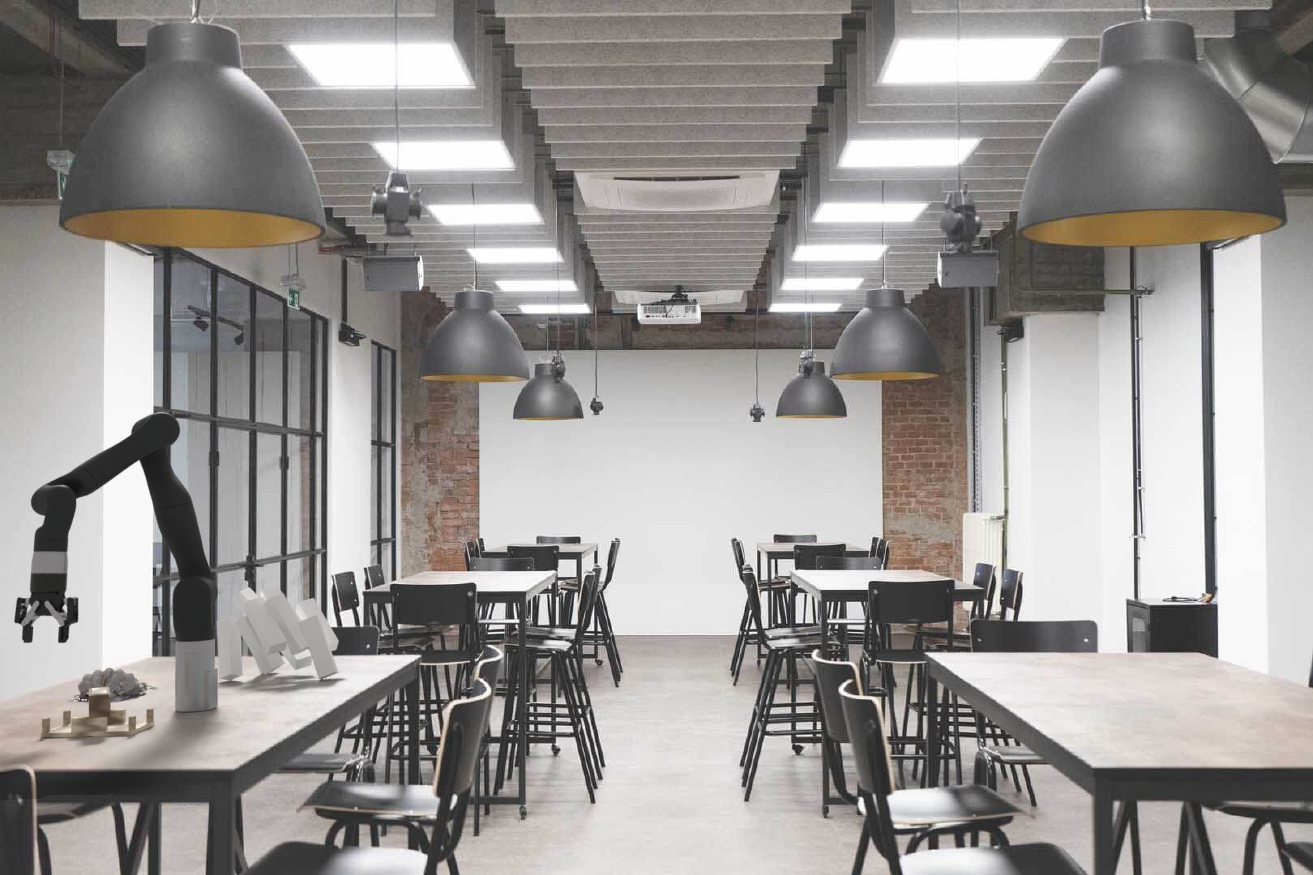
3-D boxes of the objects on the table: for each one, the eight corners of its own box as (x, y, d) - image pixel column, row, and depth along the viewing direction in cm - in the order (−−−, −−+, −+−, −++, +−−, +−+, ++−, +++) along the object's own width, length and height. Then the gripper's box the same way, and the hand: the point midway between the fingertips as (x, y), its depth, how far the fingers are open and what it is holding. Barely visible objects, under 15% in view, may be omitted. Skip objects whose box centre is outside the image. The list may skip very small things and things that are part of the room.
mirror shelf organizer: (154, 725, 268) (154, 707, 268) (132, 735, 256) (132, 717, 256) (67, 727, 267) (67, 709, 267) (40, 737, 255) (41, 719, 256)
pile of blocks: (356, 687, 353) (328, 584, 367) (340, 661, 326) (311, 551, 340) (240, 726, 345) (216, 619, 359) (214, 703, 319) (190, 588, 332)
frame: (109, 708, 268) (109, 686, 268) (110, 716, 257) (110, 693, 258) (88, 710, 266) (88, 687, 266) (88, 718, 255) (89, 694, 256)
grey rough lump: (52, 673, 300) (108, 646, 330) (48, 711, 301) (104, 681, 331) (124, 683, 300) (173, 655, 330) (120, 721, 301) (169, 690, 331)
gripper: (87, 571, 269) (83, 642, 267) (31, 571, 271) (27, 641, 269) (67, 571, 262) (63, 643, 260) (9, 571, 264) (5, 643, 262)
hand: (44, 642), depth 265 cm, fingers open, 8 cm apart
